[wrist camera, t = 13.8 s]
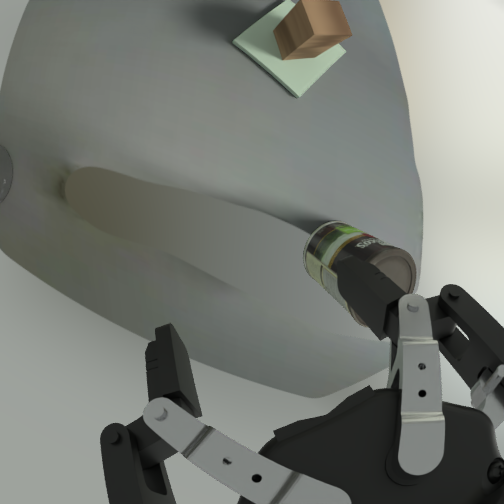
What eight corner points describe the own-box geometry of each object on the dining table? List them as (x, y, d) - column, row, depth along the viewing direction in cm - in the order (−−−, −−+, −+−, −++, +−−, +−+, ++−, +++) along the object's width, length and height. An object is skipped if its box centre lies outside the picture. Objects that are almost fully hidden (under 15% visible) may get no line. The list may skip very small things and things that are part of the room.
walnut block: (282, 60, 31) (314, 34, 22) (272, 30, 30) (300, -1, 20) (314, 57, 32) (352, 35, 23) (305, 29, 30) (338, 1, 21)
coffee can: (311, 215, 41) (368, 242, 28) (365, 226, 44) (426, 254, 31) (294, 280, 43) (339, 329, 30) (348, 284, 46) (399, 326, 33)
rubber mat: (232, 42, 30) (233, 40, 29) (286, 1, 29) (288, -2, 28) (296, 98, 35) (299, 97, 34) (342, 53, 33) (346, 51, 33)
